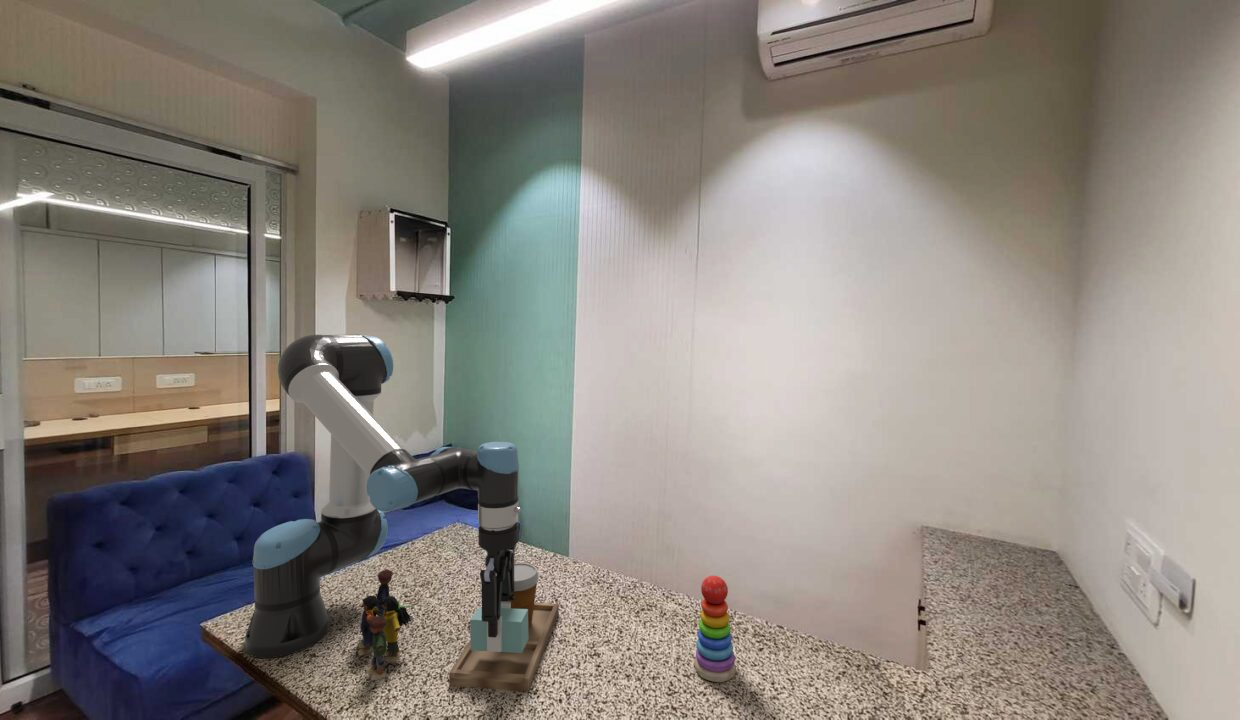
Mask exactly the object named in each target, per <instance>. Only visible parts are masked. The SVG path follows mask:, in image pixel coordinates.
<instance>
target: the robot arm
mask: <svg viewBox="0 0 1240 720" xmlns="http://www.w3.org/2000/svg"><path fill="white" fill-rule="evenodd" d="M393 358H394V357H393V355H392V352H391V350H390V348H389V347H388V346H387V343H386V342H384V341H383V340H382V339H381V338H379V337H377V336H373V335H366V334H365V335H364V334H309V335H306V336H305V335H304V336H302V337H299V338H297V339H296V340H294V341H292V342H291V343H290V344H289V345H288V346H287V347H286V348H285V349H284V350H283V352H282V354H281V355H280V358H279V360H278V363H277V375H278V379H279V383H280V386H281V387H282V388H283V390H284V391H285V392H286V394H287V395H288V396H289V397H290V398H291V400H292V401H294V402H296V403H298V404H304V406H305V407H306V408H308V410H309V411H310V412H311V413H312V414H313V415H314V417H315V418H316V419H317V420H318V421H319V422H320V423H321V424H322V426H323V427H324V428H325V429H326V430H327V431H328V433H329V434H330V459H329V460H330V461H329V494H328V495H329V497H328V498H329V499H328V501H327V503H326V504H325V505H323V507H322V508H321V510H320V513H321V516H320V521H319V522H318V521H316V520H315V519H310V518H303V519H302V518H301V519H297V520H295V521H293V520H290V521H287V522H284V523H280V524H278V525H276V526H273V527H272V528H269V529H268V530H266V531H265V532H263V533H261V535H260V536H259V537H258V538H257V539H256V541H255V544H254V546H253V557H252V565H253V591H254V592H253V593H254V610H253V613H252V616H251V619H250V622H249V624H248V627H247V631H246V633H245V635H244V650H245V652H246V653H247V655H249V656H251V657H254V658H262V659H268V658H270V659H271V658H276V657H283V656H287V655H290V654H294V653H296V652H299V651H301V650H304V649H306V648H308V647H311V646H312V645H314V644H316V643H317V642H319V641H320V640H321V639H322V638H323V637H325V636H326V635H327V633H328V632H329V630H330V626H331V622H330V621H331V615H330V612H329V611H328V609H327V607H326V604H325V602H324V600H323V597H322V594H321V578H322V577H324V576H327V575H328V574H331V573H334V572H336V571H338V570H341V569H343V568H346V567H348V566H350V565H353V564H355V563H359V562H361V561H364V560H366V559H367V558H369V557H370V556H373V555H375V554H376V553H378V551H380V550H381V549H382V547H383V546H384V544H385V543H386V539H387V535H388V521H387V520H388V519H386V518H385V512H391V511H395V510H400V509H405V508H408V507H411V506H412V505H413V504H417V503H420V502H422V501H424V500H428V499H430V498H433V497H437V496H439V495H442V494H443V495H444V494H445V493H448V492H450V491H451V492H452V491H453V490H458V489H466V490H471V491H477V498H478V499H477V523H478V525H479V527H478V529H477V531H478V533H477V534H478V535H477V537H478V538H477V539H478V546H479V547H480V548H481V549H483V550H484V551H486V552H487V554H486V556H485V563H484V564H485V567H486V568H485V569H481V570H480V573H479V577H480V584H481V585H480V587H481V607H482V617H481V618H482V621H485V622H487V651H491V652H501V651H502V616H500V609H501V608H511V602H509V600H515V595H512V593H511V592H514V589H515V588H514V563H515V552H516V545H517V544H518V543H519V538H520V536H519V533H520V532H519V530H520V529H519V523H518V521H519V513H521V511H522V509H521V507H519V468H520V464H519V454H518V453H519V452H518V448H517V446H516V445H515V444H514V443H512V442H509V441H490V442H485V443H484V442H483V443H482V444H480V445H479V446H478V448H477V450H473V449H468V448H462V447H458V446H443V447H442V446H441V447H439V448H437V449H435V451H434V452H432V453H431V454H430V455H428V456H424V457H420V458H414V457H413V456H412V455H411V453H409V451H408V450H406V448H404V446H403V445H401V443H400V442H399V441H398V440H397V439H396V438H395V437H394V436H393V434H391V433H390V432H389V431H388V430H387V428H385V427H384V425H383V424H382V423H381V422H380V421H379V420H378V419H377V418H376V417H375V416H374V402H375V400H376V399H377V398H378V397H379V396H380V395H381V394H382V385H383V384H386V383H387V382H388V381H390V378H391V377H392V376H393V373H394V359H393Z"/></svg>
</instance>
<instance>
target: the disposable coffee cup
mask: <svg viewBox="0 0 1240 720" xmlns="http://www.w3.org/2000/svg"><path fill="white" fill-rule="evenodd" d="M539 579H540V573H539V572H538V568H537V567H536V566H535V565H533V564H531V563H528V562H514V588H515V589H514V592H511V593H512V595H515V600H509V602H511V608H513V609H528V629H529V628H530V627H531V625H532V617H533V609H534V602H535V600H536V592H537V584H538V582H539Z"/></svg>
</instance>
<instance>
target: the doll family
mask: <svg viewBox="0 0 1240 720" xmlns="http://www.w3.org/2000/svg"><path fill="white" fill-rule="evenodd" d="M393 575H394V574H393V571H392V570H390V569H383V570H381V571H379V572H378V574H377V579H378V582H379V584H380V585H379V587H378V590H377V594H376V595H374V594H373V595H368V596H366V597H364V598H363V599H362V600H361V601H362V603H360V602H357V604H358V605H360V608H363V611H362V615H361V623H360V630H361V634H362V640H361V641H360V642H359V643H358V645H357V647H358V648H359V650H358V652H357V654H358V655H359V656H365V655H367V654H369V653H370V652H373V656H372V659H371V663H370V664H371V665H370V666H368V667H367V669H366V672H365V673H366V674H367V675H370V680H371V681H376V680H380V679H384V678H385V677H386V676H387V675H388V674H387V672H386V671H384V666H385V664H386V663H392V662H395V661H397V660H399V659H400V658H401V654H400V653H399V651H400V647H399V643H398V640H399V639H398V634H399V632H400V630H401V627H402V626H406V627H407V626H408V625H409V622H412V620H414V619H415V618H414V617H413V616H411V614H410V613H408V612H407V608H410V607H412V604H409V605H403V606H401V605H400V601H399V600H397V598H396V597H395V596H393V595H391V596H390V586H389V584H390V582H391V580H392V577H393ZM384 656H385V661H384V660H383V659H384ZM385 662H386V663H385Z"/></svg>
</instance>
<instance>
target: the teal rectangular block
mask: <svg viewBox="0 0 1240 720" xmlns="http://www.w3.org/2000/svg"><path fill="white" fill-rule="evenodd" d="M500 616H502V651H501V652H510V653H522V652H523V650H524V648H525V645H526V643H527V641H528V639H529V634H528V609H513V608H501V609H500ZM481 617H482V606H478V608H477V609H476V611H475V612H474V613H473V615H472V616H471V618H470V619H469V630H470V633H469V634H470V639H469V640H471V650H473V651H487V622H485V621H482V618H481Z"/></svg>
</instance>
